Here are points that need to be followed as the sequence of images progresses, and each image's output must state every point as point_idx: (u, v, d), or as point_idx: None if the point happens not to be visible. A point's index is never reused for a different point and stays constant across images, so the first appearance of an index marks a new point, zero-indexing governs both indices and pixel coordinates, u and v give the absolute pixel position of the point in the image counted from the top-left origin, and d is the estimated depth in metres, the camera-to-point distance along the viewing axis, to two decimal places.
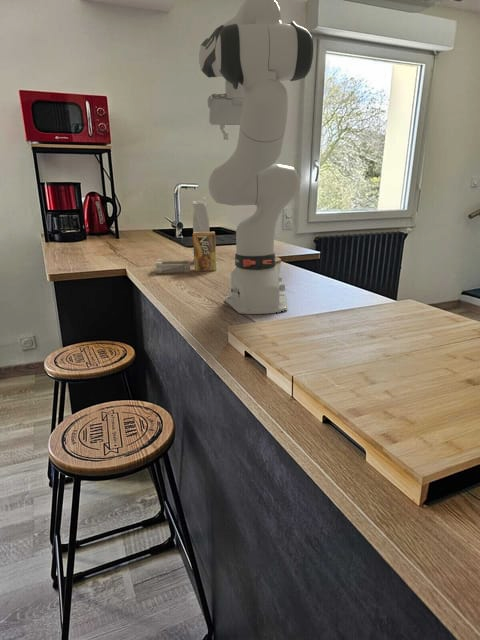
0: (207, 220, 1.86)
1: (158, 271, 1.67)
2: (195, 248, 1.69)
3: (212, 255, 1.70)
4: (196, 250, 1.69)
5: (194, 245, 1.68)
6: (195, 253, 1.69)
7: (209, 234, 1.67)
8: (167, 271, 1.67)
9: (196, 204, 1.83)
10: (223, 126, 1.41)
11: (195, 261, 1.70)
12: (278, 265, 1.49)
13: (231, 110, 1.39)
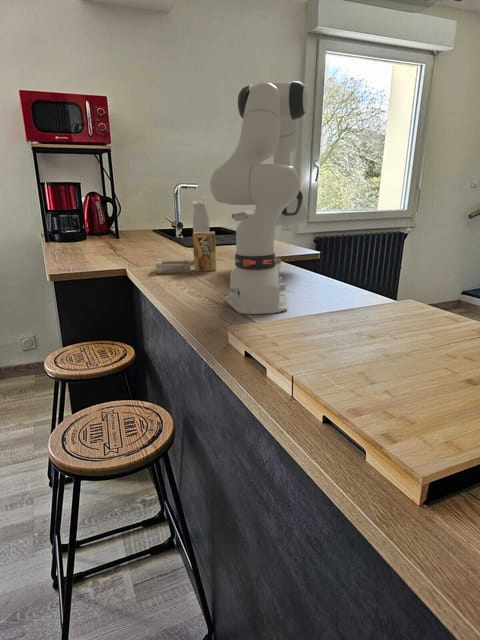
0: (207, 220, 1.86)
1: (158, 271, 1.67)
2: (195, 248, 1.69)
3: (212, 255, 1.70)
4: (196, 250, 1.69)
5: (194, 245, 1.68)
6: (195, 253, 1.69)
7: (209, 234, 1.67)
8: (167, 271, 1.67)
9: (196, 204, 1.83)
10: (240, 213, 1.74)
11: (195, 261, 1.70)
12: (278, 265, 1.49)
13: (253, 211, 1.71)
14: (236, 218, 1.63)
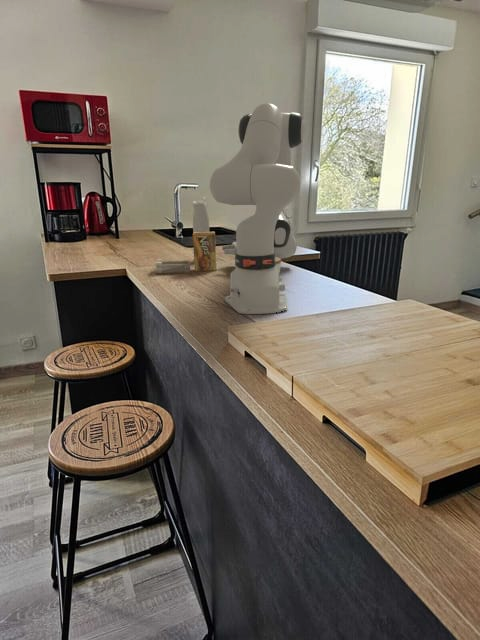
0: (207, 220, 1.86)
1: (158, 271, 1.67)
2: (195, 248, 1.69)
3: (212, 255, 1.70)
4: (196, 250, 1.69)
5: (194, 245, 1.68)
6: (195, 253, 1.69)
7: (209, 234, 1.67)
8: (167, 271, 1.67)
9: (196, 204, 1.83)
10: (231, 245, 1.77)
11: (195, 261, 1.70)
12: (278, 265, 1.49)
13: None
14: (226, 251, 1.67)
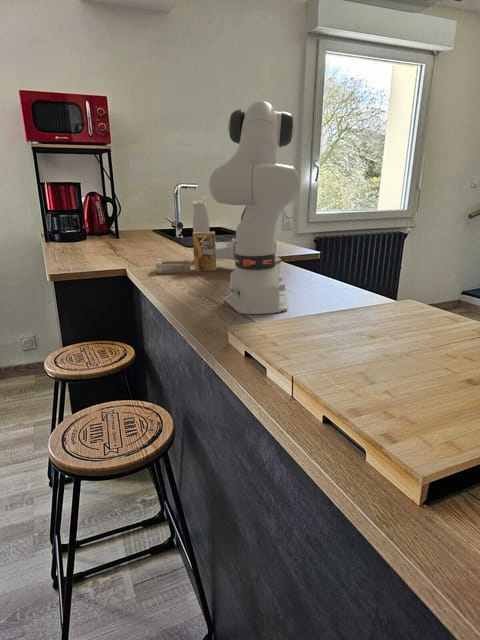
0: (207, 220, 1.86)
1: (158, 271, 1.67)
2: (195, 248, 1.69)
3: (212, 255, 1.70)
4: (196, 250, 1.69)
5: (194, 245, 1.68)
6: (195, 253, 1.69)
7: (209, 234, 1.67)
8: (167, 271, 1.67)
9: (196, 204, 1.83)
10: None
11: (195, 261, 1.70)
12: (278, 265, 1.49)
13: (222, 244, 1.74)
14: (204, 251, 1.67)
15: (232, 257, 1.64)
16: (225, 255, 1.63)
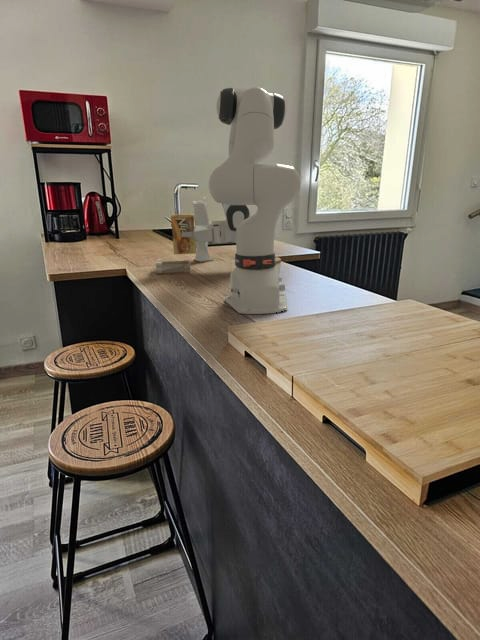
0: (207, 220, 1.86)
1: (158, 271, 1.67)
2: (174, 231, 1.66)
3: (191, 238, 1.67)
4: (175, 232, 1.66)
5: (173, 228, 1.65)
6: (174, 236, 1.66)
7: (188, 216, 1.64)
8: (167, 271, 1.67)
9: (196, 204, 1.83)
10: None
11: (174, 244, 1.67)
12: (278, 265, 1.49)
13: (202, 227, 1.71)
14: (183, 234, 1.64)
15: (211, 239, 1.61)
16: (203, 237, 1.60)
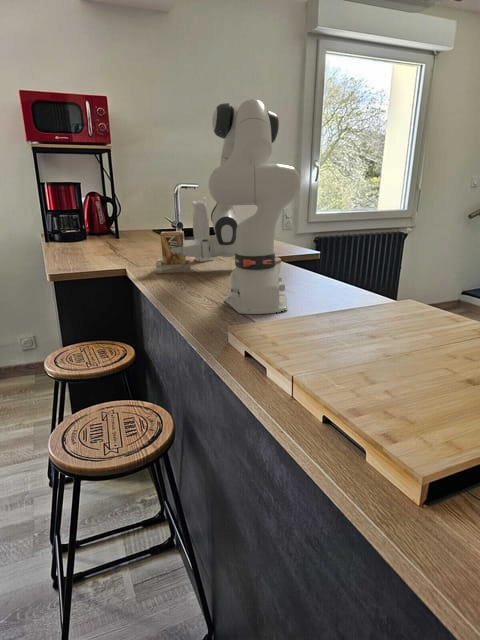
0: (207, 220, 1.86)
1: (158, 271, 1.67)
2: (163, 248, 1.67)
3: (181, 255, 1.68)
4: (165, 250, 1.67)
5: (162, 245, 1.67)
6: (163, 253, 1.68)
7: (177, 234, 1.65)
8: (167, 271, 1.67)
9: (196, 204, 1.83)
10: None
11: (164, 261, 1.69)
12: (278, 265, 1.49)
13: (192, 242, 1.72)
14: (172, 249, 1.64)
15: (200, 255, 1.62)
16: (192, 252, 1.61)
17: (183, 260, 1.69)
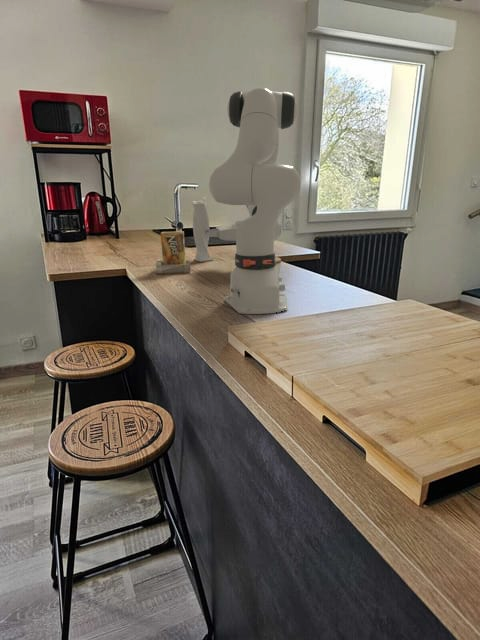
0: (207, 220, 1.86)
1: (158, 271, 1.67)
2: (163, 248, 1.67)
3: (181, 255, 1.68)
4: (165, 249, 1.67)
5: (162, 245, 1.67)
6: (164, 253, 1.68)
7: (177, 234, 1.66)
8: (167, 271, 1.67)
9: (196, 204, 1.83)
10: (214, 229, 1.74)
11: (164, 261, 1.69)
12: (278, 265, 1.49)
13: (226, 227, 1.71)
14: (208, 234, 1.63)
15: None
16: (229, 236, 1.60)
17: (183, 260, 1.69)
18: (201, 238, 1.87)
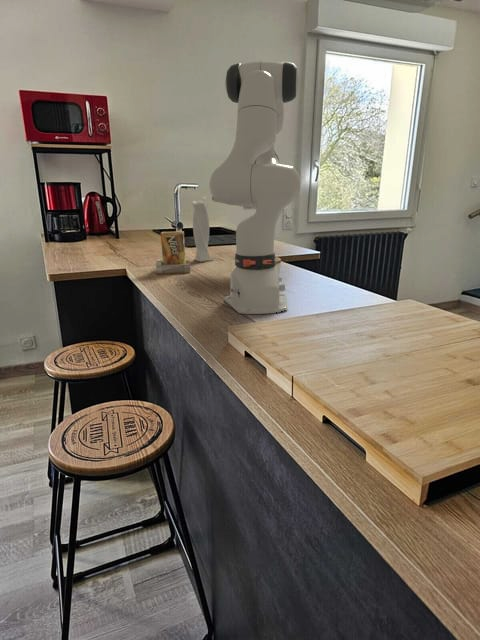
0: (207, 220, 1.86)
1: (158, 271, 1.67)
2: (163, 248, 1.67)
3: (181, 255, 1.68)
4: (165, 249, 1.67)
5: (162, 245, 1.67)
6: (164, 253, 1.68)
7: (177, 234, 1.66)
8: (167, 271, 1.67)
9: (196, 204, 1.83)
10: None
11: (164, 261, 1.69)
12: (278, 265, 1.49)
13: None
14: (215, 199, 1.60)
15: None
16: None
17: (183, 260, 1.69)
18: (201, 238, 1.87)
